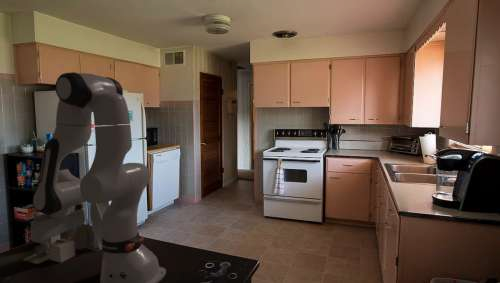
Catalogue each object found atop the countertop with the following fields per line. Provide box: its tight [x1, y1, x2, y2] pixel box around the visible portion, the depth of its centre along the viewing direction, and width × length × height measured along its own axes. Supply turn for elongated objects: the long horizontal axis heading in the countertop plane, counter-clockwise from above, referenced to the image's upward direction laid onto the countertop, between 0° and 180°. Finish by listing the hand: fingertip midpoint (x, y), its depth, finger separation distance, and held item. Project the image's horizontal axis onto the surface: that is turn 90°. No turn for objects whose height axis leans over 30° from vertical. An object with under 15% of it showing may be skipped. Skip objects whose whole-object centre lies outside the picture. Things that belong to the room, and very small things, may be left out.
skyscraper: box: [86, 201, 110, 252], centre depth 125 cm, size 8×8×28 cm
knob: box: [48, 238, 76, 263], centre depth 116 cm, size 6×6×7 cm
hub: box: [23, 244, 50, 265], centre depth 116 cm, size 8×8×5 cm
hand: (60, 243), depth 116 cm, fingers open, 8 cm apart
